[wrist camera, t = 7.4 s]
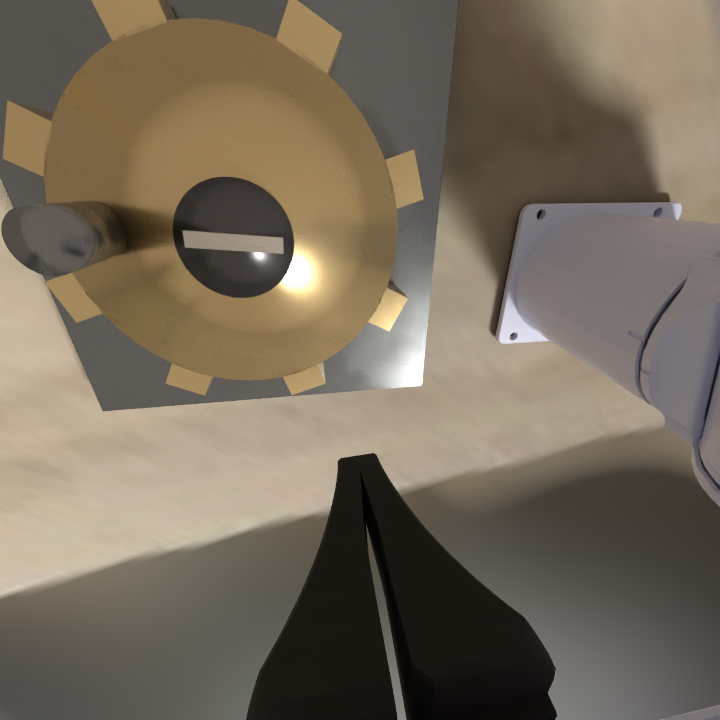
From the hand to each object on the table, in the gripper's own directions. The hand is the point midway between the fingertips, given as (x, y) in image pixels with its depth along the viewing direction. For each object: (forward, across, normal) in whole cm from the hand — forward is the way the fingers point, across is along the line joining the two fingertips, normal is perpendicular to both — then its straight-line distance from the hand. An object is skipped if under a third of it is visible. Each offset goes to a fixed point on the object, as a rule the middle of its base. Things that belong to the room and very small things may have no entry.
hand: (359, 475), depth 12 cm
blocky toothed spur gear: (+8, +3, -8) cm, 12 cm away
